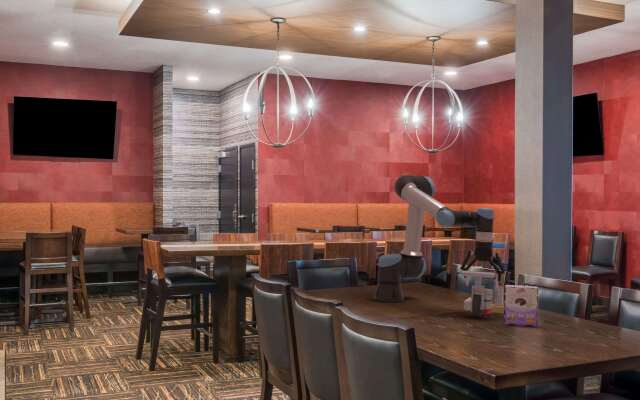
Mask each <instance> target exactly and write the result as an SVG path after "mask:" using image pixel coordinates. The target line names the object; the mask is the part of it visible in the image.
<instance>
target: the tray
mask: <svg viewBox="0 0 640 400" xmlns="http://www.w3.org/2000/svg"><path fill="white" fill-rule="evenodd" d="M471 301H472V296H471V297H468V298H466V299H465V300H463V311H468V312H471Z"/></svg>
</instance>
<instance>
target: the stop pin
mask: <svg viewBox="0 0 640 400" xmlns="http://www.w3.org/2000/svg"><path fill="white" fill-rule="evenodd" d="M495 287H496V285H495V286H494V299H493V300H494V301H493V302H494V303H493V304H494V306H503V305H504V294H505V286H503V285H502V286H501V285H498V288H497V289H495Z"/></svg>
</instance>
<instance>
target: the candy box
mask: <svg viewBox="0 0 640 400" xmlns="http://www.w3.org/2000/svg"><path fill="white" fill-rule="evenodd" d="M503 305H504V314H503V325H505V326H506V325H508V326H509V325H510V326H523V327H536V328H537V327H538V324H539V323H538V322H539V286H530V285H515V284H514V285H513V284H505V286H504V297H503Z"/></svg>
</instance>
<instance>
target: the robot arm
mask: <svg viewBox="0 0 640 400" xmlns="http://www.w3.org/2000/svg"><path fill="white" fill-rule="evenodd" d="M393 189H394V193H395V194H396V195H397V197H399V198H400V199H401V200H403V201H406V202H407V203H408V209H407V217H406V225H405V234H404V242H403V249H402V250H401V251H400V253H388V254H382V255H380V256H379V257H378V263H377V265H378V266H377V287H376V289H375V292H374V294H373V300H375V301H377V302H384V303H401V302H404V298H405V297H404V293H403V290H402V286H401V285H402V284H401V281H402V280H415V279H419V278H421V277H422V276H423V275H424V274H425V272H426V269H427V264H426V262H425V261H426V260H425V258H424V257H423V256H424V255H423V253H422V252H421V246H422V239H423V238H422V237H423V229H424V222H425V221H424V220H425V213H427V214H428V215H430V216H431V217H433V218H434V219H435V220H436V222H437V224H438V225H439V226H441V227H444V228H446V227H447V228H449V227H451V228H453V227H454V228H456V227H458V228H459V227H460V228H461V227H463V228H464V227H465V228H476V229H475V230H476V231H475V249H474V250H472V249H471V250H468V251H467V255H466V257H465V259H464V260H463V263H462V264H461V265H460V270H461V271H469V270H470V268H472V266H473V265H475V263H476V262H478V261H479V262H488V263H489V264H490V265H491V266H492V268H493V269H494V271H495V286H496V287H495V286H494V290H495V289H497V288H498V286H499V282H501V280H502V274H505V273H506V270H505V267H504V266H503V263H502V261H501V259H500V253H499V252H493V242H492V241H493V238H494V237H493V235H494V220H495V219H494V218H495V216H494V214H495V212H494V208H491V207H478V208H477V210H476V211H475V210H453V209H451V208H449V207H447V205H444V204H443V203H441V202H440V201H439V200H437V199H435V198H433V196H434V195H435V191H436V187H435V184H434V182H433V179H431V178H430V177H428V176H424V175H414V174H413V175H411V174H404V175H401V176H399V177H397V179H396V180H395V182H394V185H393ZM473 255H474V256H475V257H474V258H473V260H472V261H470V263H469V264H468V262H469V260H470V258H471V257H472V256H473ZM492 257H494V258H495V259H496V262H497V264H498V266H499V267H498V266H497V265H496V263H495V262H494V261H493V259H492ZM467 264H468V265H467ZM463 278H464V279H465V286H466V287H467V286H469V283H470V282H469V281H470V280H469V279H470V276H463Z"/></svg>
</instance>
